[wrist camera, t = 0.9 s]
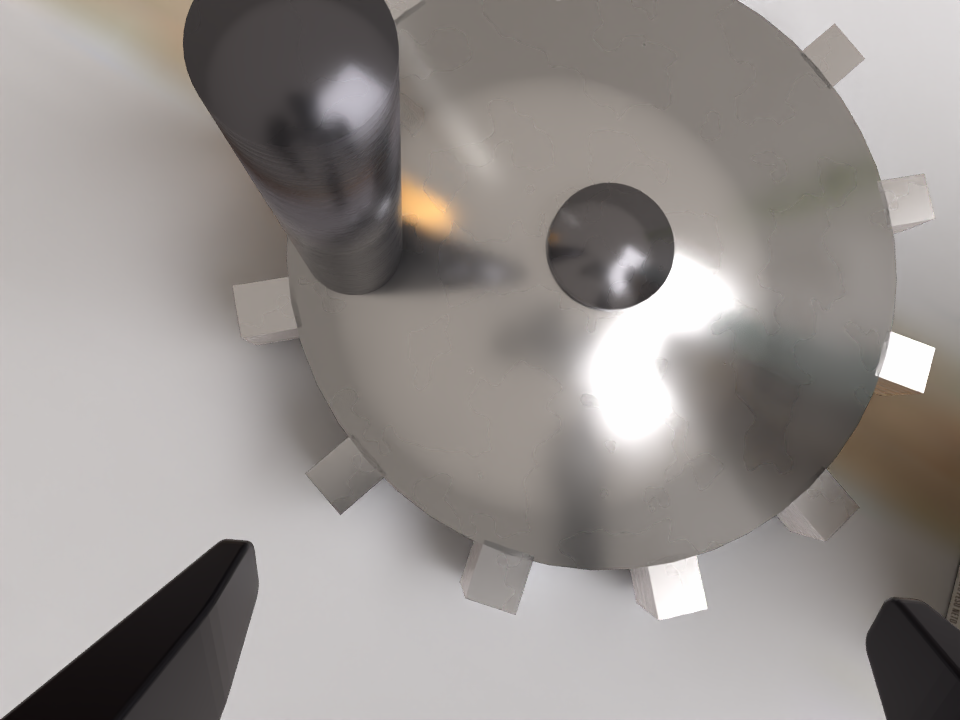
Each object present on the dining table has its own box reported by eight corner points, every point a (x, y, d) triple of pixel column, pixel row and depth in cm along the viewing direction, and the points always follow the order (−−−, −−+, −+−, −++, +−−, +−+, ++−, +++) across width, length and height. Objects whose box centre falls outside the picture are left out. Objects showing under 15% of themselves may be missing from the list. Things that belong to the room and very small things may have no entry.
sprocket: (802, 694, 23) (1323, 1054, 10) (137, 476, 21) (-292, 563, 8) (961, 91, 26) (1526, -246, 13) (388, -145, 24) (366, -812, 11)
